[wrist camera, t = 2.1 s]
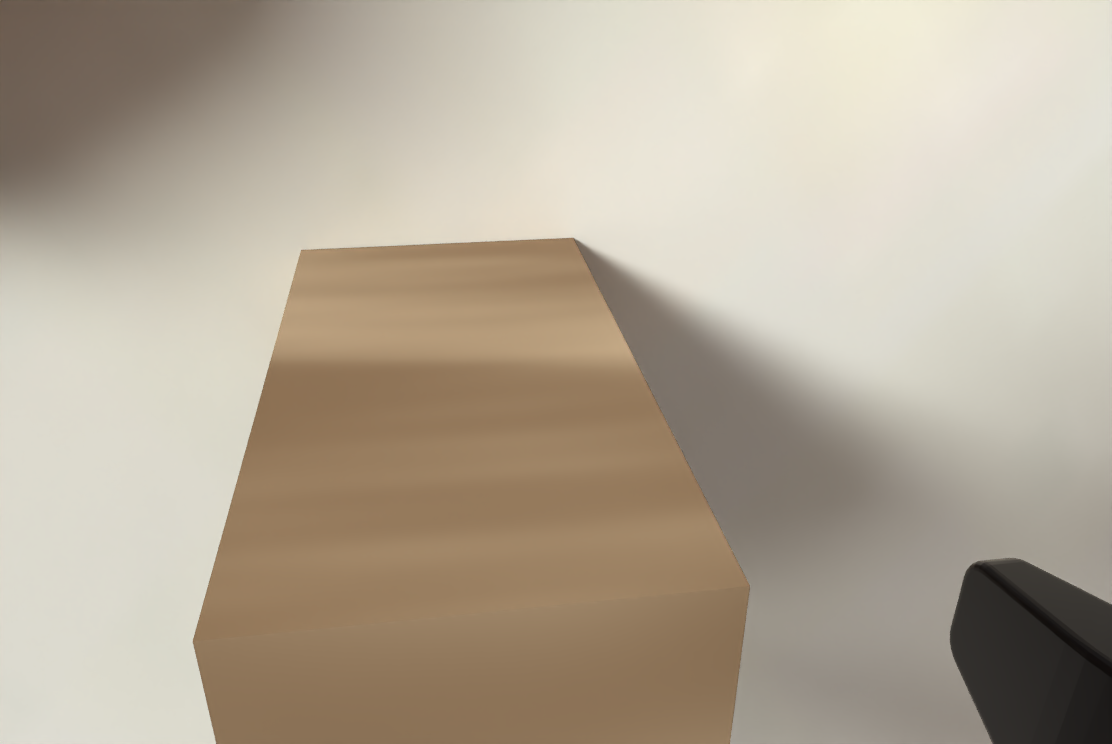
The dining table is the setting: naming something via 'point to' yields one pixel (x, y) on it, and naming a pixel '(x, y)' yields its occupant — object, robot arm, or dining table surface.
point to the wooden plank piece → (465, 520)
